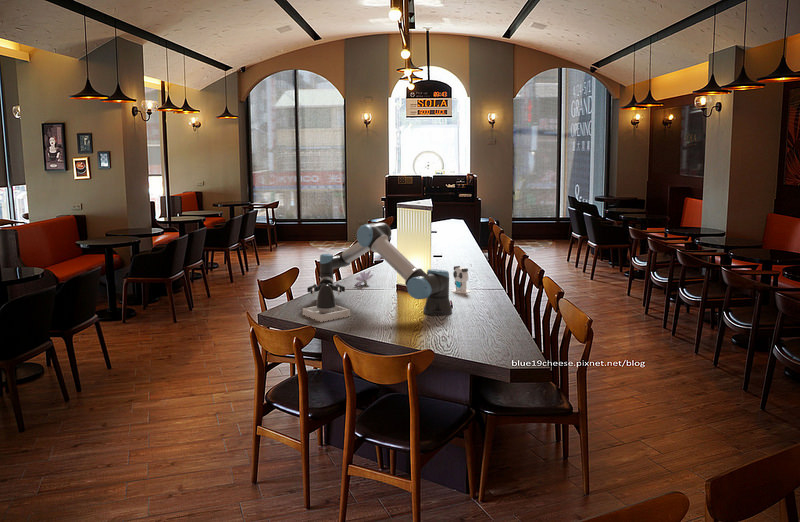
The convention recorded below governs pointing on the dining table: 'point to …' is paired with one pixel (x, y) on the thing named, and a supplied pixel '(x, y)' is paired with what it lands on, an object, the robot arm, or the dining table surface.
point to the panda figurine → (460, 279)
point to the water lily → (363, 278)
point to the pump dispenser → (326, 300)
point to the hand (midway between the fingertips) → (325, 292)
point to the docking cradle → (318, 316)
